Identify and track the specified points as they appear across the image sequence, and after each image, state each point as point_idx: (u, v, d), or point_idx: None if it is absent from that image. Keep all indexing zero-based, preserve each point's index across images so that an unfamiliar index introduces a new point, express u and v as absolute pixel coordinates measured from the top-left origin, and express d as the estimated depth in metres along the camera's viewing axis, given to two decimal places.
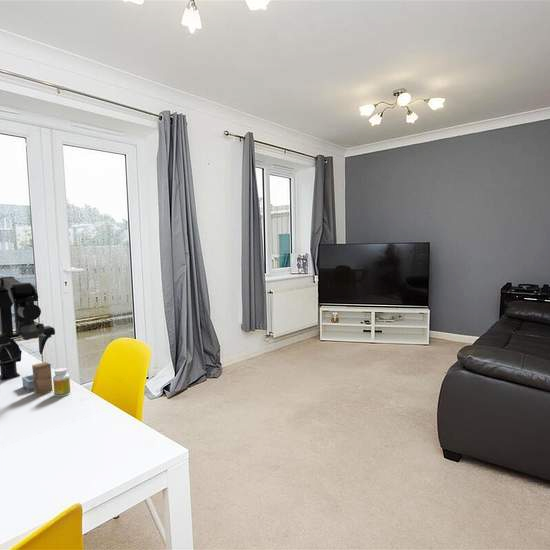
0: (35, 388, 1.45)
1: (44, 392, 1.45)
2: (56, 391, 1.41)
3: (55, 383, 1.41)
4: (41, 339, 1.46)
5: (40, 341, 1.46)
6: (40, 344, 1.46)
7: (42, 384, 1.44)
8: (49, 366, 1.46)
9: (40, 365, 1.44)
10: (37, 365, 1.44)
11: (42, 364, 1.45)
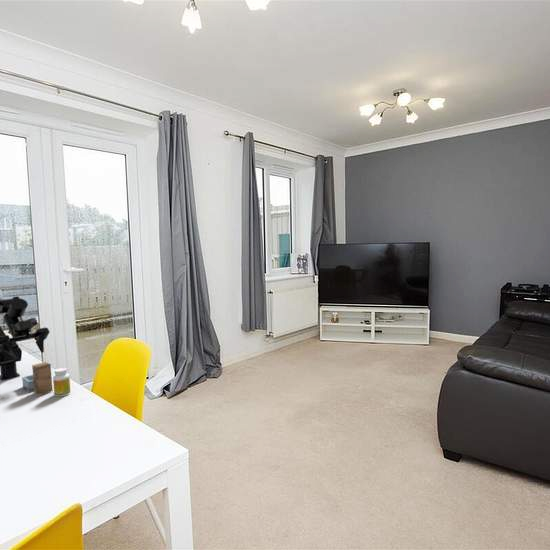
0: (35, 388, 1.45)
1: (44, 392, 1.45)
2: (56, 391, 1.41)
3: (55, 383, 1.41)
4: (38, 339, 1.55)
5: (38, 342, 1.55)
6: (39, 344, 1.55)
7: (42, 384, 1.44)
8: (49, 366, 1.46)
9: (40, 365, 1.44)
10: (37, 365, 1.44)
11: (42, 364, 1.45)
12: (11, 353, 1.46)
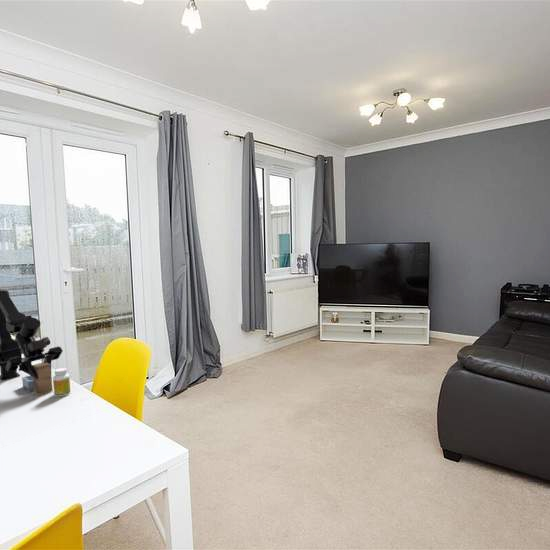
0: (35, 388, 1.45)
1: (44, 392, 1.45)
2: (56, 391, 1.41)
3: (55, 383, 1.41)
4: (46, 360, 1.49)
5: None
6: None
7: (42, 384, 1.44)
8: (49, 366, 1.46)
9: (40, 365, 1.44)
10: (37, 365, 1.44)
11: (42, 364, 1.45)
12: (30, 373, 1.43)
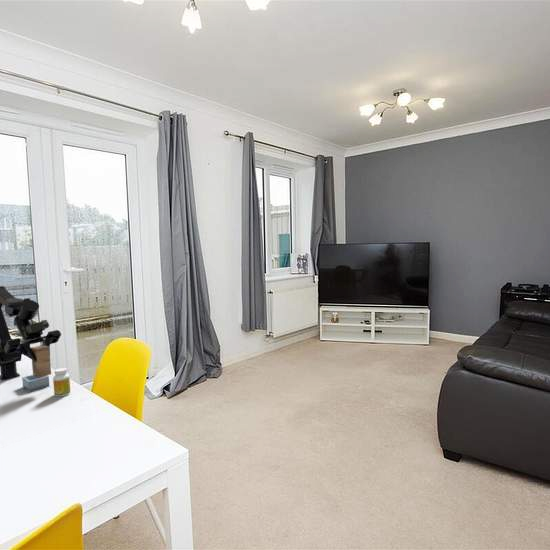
0: (33, 371, 1.45)
1: (43, 375, 1.44)
2: (56, 391, 1.41)
3: (55, 383, 1.41)
4: (44, 343, 1.48)
5: None
6: None
7: (41, 366, 1.43)
8: (48, 349, 1.45)
9: (39, 347, 1.44)
10: (36, 348, 1.44)
11: (40, 347, 1.44)
12: (29, 355, 1.43)
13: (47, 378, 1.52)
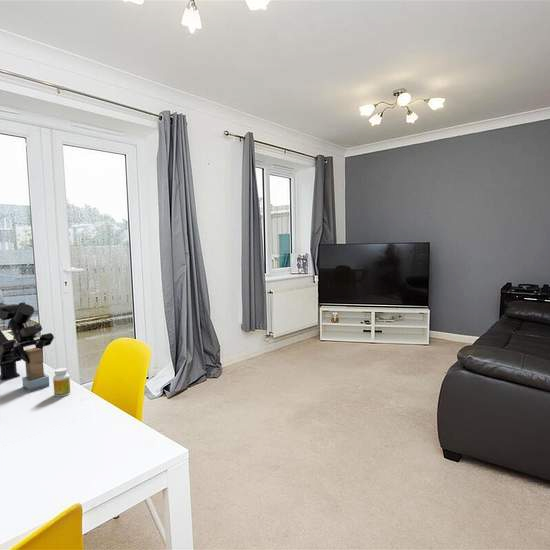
0: (27, 372, 1.50)
1: (36, 376, 1.50)
2: (56, 391, 1.41)
3: (55, 383, 1.41)
4: (37, 346, 1.54)
5: None
6: None
7: (34, 368, 1.49)
8: (41, 351, 1.51)
9: (32, 350, 1.50)
10: (29, 350, 1.49)
11: (34, 349, 1.50)
12: (22, 357, 1.48)
13: (47, 378, 1.52)
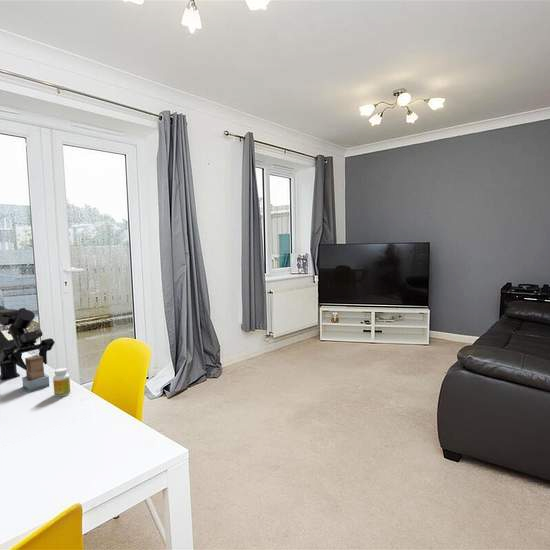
0: None
1: None
2: (56, 391, 1.41)
3: (55, 383, 1.41)
4: (41, 351, 1.55)
5: (41, 354, 1.55)
6: (42, 356, 1.55)
7: (35, 376, 1.50)
8: (41, 359, 1.51)
9: (33, 358, 1.50)
10: (30, 358, 1.50)
11: (34, 357, 1.51)
12: (19, 364, 1.48)
13: (47, 378, 1.52)
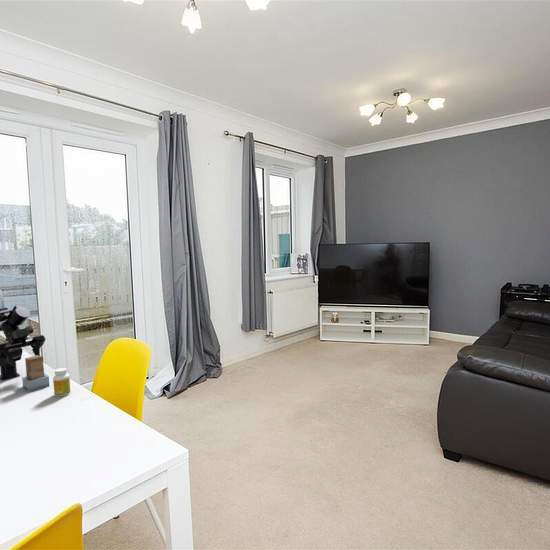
0: None
1: None
2: (56, 391, 1.41)
3: (55, 383, 1.41)
4: (35, 347, 1.60)
5: (35, 350, 1.60)
6: (35, 351, 1.60)
7: (35, 376, 1.50)
8: (41, 359, 1.51)
9: (33, 358, 1.50)
10: (30, 358, 1.50)
11: (34, 357, 1.51)
12: (8, 360, 1.51)
13: (47, 378, 1.52)
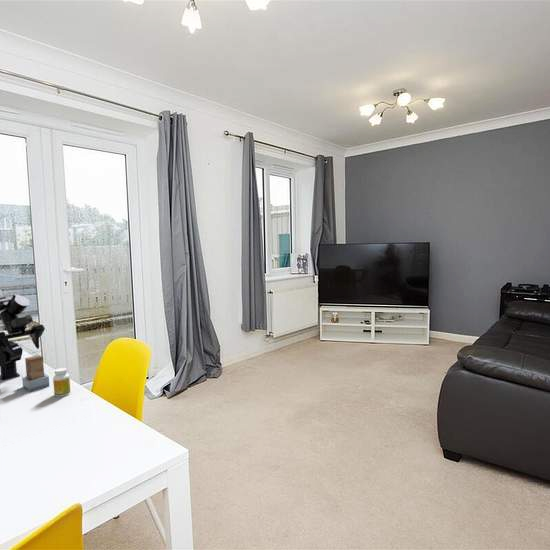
0: None
1: None
2: (56, 391, 1.41)
3: (55, 383, 1.41)
4: (34, 336, 1.60)
5: (34, 339, 1.60)
6: (35, 341, 1.59)
7: (35, 376, 1.50)
8: (41, 359, 1.51)
9: (33, 358, 1.50)
10: (30, 358, 1.50)
11: (34, 357, 1.51)
12: (7, 349, 1.50)
13: (47, 378, 1.52)
